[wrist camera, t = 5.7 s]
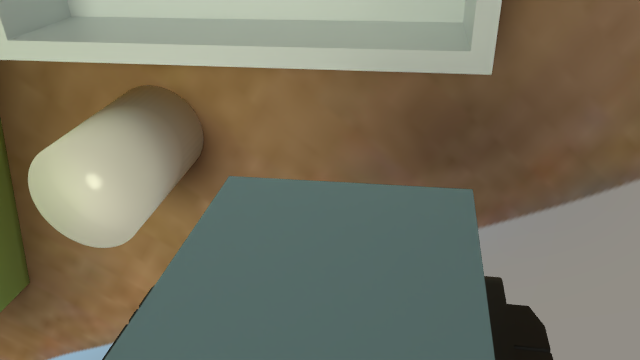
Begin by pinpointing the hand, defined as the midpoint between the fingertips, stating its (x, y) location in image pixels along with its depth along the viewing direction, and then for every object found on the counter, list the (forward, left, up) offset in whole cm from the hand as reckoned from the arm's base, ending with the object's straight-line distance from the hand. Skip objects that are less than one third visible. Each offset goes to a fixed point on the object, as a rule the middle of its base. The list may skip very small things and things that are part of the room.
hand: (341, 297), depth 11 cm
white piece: (+12, +3, -15) cm, 20 cm away
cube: (0, 0, -1) cm, 1 cm away
